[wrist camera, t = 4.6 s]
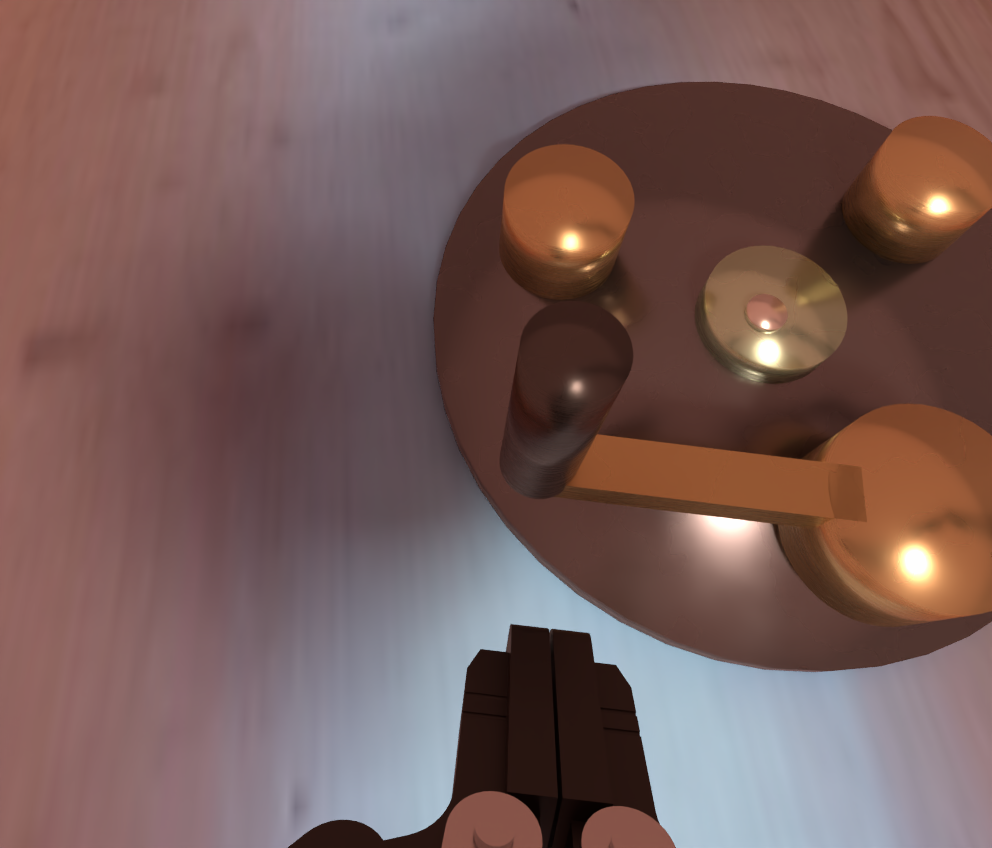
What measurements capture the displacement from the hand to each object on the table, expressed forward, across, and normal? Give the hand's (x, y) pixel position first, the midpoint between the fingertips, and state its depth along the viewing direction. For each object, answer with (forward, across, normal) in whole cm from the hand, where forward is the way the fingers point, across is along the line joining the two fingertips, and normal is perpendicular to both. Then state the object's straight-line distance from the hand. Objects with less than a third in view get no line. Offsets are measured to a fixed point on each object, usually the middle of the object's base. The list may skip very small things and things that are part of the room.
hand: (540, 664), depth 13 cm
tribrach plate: (+15, -8, -3) cm, 17 cm away
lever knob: (+9, -6, +1) cm, 11 cm away
